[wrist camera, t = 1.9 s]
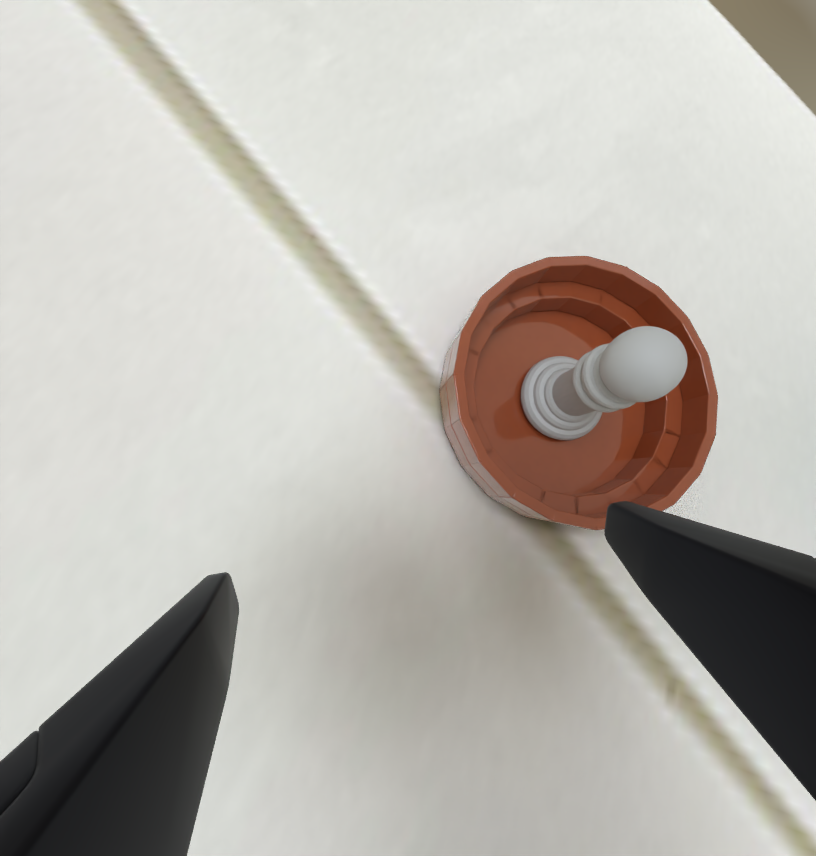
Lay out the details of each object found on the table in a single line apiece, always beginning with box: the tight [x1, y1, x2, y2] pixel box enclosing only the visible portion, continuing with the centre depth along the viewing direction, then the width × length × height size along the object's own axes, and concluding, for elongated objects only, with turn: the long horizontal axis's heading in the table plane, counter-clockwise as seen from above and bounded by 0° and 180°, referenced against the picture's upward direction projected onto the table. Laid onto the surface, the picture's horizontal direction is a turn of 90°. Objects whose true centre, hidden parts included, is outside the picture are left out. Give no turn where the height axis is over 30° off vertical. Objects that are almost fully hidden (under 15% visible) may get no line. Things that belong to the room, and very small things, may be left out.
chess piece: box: [521, 326, 687, 440], centre depth 20 cm, size 5×5×9 cm
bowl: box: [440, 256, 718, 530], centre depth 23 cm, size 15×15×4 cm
